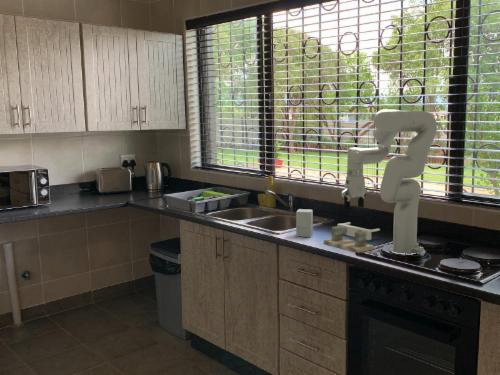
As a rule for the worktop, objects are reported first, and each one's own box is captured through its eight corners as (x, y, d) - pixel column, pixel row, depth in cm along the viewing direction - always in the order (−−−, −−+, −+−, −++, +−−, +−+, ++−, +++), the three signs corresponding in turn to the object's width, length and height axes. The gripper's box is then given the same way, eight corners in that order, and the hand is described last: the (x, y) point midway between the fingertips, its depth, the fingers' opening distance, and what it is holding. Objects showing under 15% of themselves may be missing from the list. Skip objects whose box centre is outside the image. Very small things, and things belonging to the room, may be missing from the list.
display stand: (373, 249, 219) (374, 232, 218) (358, 252, 214) (358, 235, 213) (339, 240, 236) (339, 224, 235) (323, 243, 230) (323, 227, 229)
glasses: (379, 238, 240) (379, 228, 240) (367, 240, 235) (367, 230, 235) (348, 231, 257) (349, 221, 256) (336, 233, 251) (336, 224, 251)
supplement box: (313, 234, 249) (313, 209, 248) (310, 237, 242) (311, 211, 241) (298, 233, 251) (298, 208, 250) (295, 236, 244) (295, 211, 243)
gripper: (348, 175, 232) (347, 211, 235) (373, 172, 242) (371, 207, 245) (336, 173, 238) (335, 208, 241) (361, 171, 248) (360, 205, 251)
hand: (353, 208), depth 243 cm, fingers open, 9 cm apart
